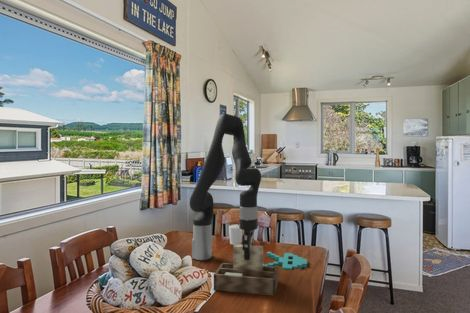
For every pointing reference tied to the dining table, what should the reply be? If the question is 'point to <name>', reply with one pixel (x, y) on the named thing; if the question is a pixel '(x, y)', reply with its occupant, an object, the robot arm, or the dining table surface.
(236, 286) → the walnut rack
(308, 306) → the dining table surface
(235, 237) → the white cup
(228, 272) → the sage offcut
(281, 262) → the alien figure
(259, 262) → the birch panel
